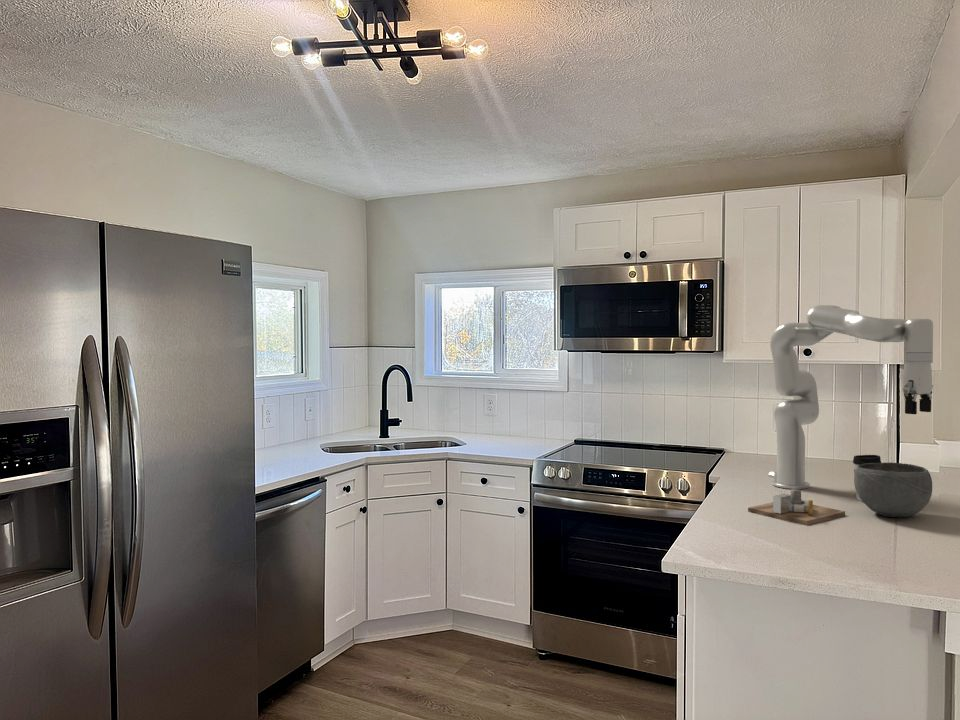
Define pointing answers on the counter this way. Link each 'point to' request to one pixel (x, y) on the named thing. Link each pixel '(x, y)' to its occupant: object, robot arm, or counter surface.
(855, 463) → the coffee cup
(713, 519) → the counter surface
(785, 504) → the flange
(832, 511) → the post base
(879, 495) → the bowl
